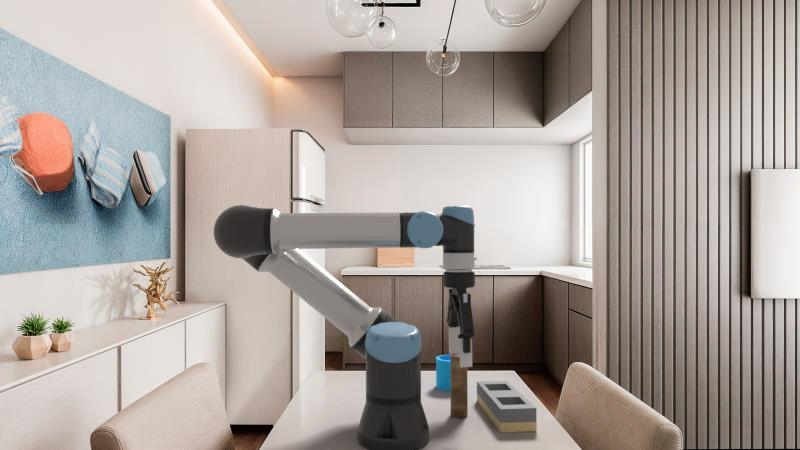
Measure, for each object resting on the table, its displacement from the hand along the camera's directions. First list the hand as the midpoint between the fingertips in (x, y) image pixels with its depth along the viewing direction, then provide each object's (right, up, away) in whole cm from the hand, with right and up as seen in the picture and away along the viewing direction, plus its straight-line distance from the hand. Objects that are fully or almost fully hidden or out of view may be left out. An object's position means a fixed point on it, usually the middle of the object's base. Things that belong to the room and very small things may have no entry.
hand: (460, 359), depth 126 cm
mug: (0, -14, +25) cm, 29 cm away
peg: (0, -13, 0) cm, 13 cm away
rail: (+11, -13, 0) cm, 17 cm away
